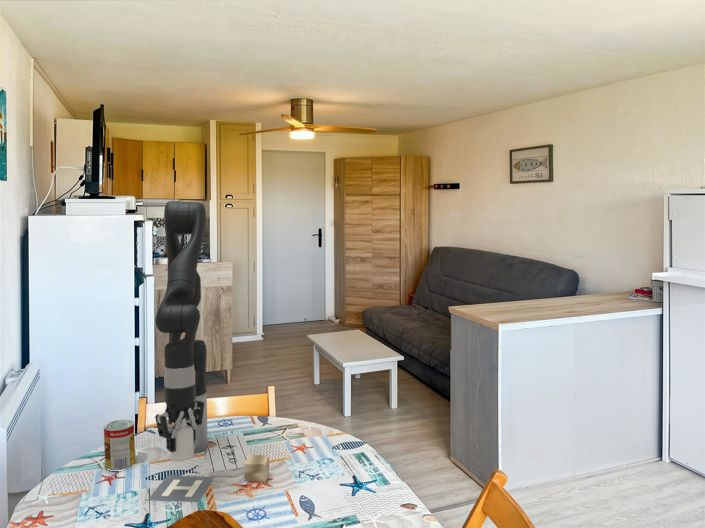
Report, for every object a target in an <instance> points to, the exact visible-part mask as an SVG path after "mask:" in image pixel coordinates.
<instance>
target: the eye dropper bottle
mask: <svg viewBox="0 0 705 528" xmlns="http://www.w3.org/2000/svg"><path fill="white" fill-rule="evenodd" d="M171 431H172V429H171ZM170 433H171V432H170ZM175 438H176V451H175V452H170V451H169V452H170V460H171V461H172V462H175V463H176V462H183V461H184V462H185V461H187V460H190V459H192V458H193V457H194V456H195V453H194V441H193V429H192V427H191V426H187V425H186V418H185V419H183V420H182V423H180V426H179V429H177V431H176V435H175Z"/></svg>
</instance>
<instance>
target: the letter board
mask: <svg viewBox="0 0 705 528" xmlns="http://www.w3.org/2000/svg"><path fill="white" fill-rule="evenodd" d="M215 477H216V476H207V475H206V476H205V475H204V476H203V475H198V476H197V475H174V474H173V475H172V474H171V475H169V474H168V475H167V476H166V477H165V478H164V479H163V481H162V482H161V483H160V484H159V485H158V487H157V488H156V489H155V490H154V491H153V493H151V495H150V496H149V497H148V498H147V501H151V502H152V501H153V502H154V501H155V502H156V501H157V502H158V501H159V502H183V503H187V502H188V503H199V502H200V501H201V499H202V497H204V494H205V493H206V492H207V490H208V488H209V487H210V485H211V484H212V482H213V480H214V479H215Z"/></svg>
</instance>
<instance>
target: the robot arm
mask: <svg viewBox="0 0 705 528" xmlns="http://www.w3.org/2000/svg"><path fill="white" fill-rule="evenodd" d="M163 212H164V213H163V216H164V217H163V218H164V219H163V221H164V231H165V241H166V252H167V253H166V255H167V281H166V289H165V293H164V296H163V298H162V300H161V303H160V304H159V307H158V309H157V312H156V315H155V319H154V320H155V325H156V328H157V330H158V331H160V333H162V334H169V335H168V343H166V344H165V345H164V352H163V353H164V373H163V378H164V379H163V381H164V382H163V383H164V384H163V385H164V386H163V387H164V390H163V391H164V402H165V404H166V405H165V406H166V408H165V411H164V412H163V413H161V414H159V413H157V414H156V415H155V416H154V419H155V423H156V428H157V432H158V437H161V438H164V439H166V440H165V441H166V450H167V451H168V452H175V451H176V438H175V435H176V431H177V429H179V426H180V423H182V420H183V419H185V418H186V425H187V426H191V427H192V429H193V441H194V454H198V453H201V452H203V451H206V449H207V448H208V447H209V444H208V443H209V441H208V438H209V437H208V433H209V432H208V431H209V430H208V403H207V402H208V400H207V399H208V397H207V394H208V393H207V391H208V390H207V358H208V357H207V356H208V355H207V351H208V350H207V345H206V342H205V341H204V339H203V340H202V339H196V335H197V332H198V329H199V325H200V321H201V313H200V310H199V309H198V306H199V305H200V302H201V300H202V282H201V281H202V280H201V277H200V274H199V272H198V271H197V268H198V263H199V258H200V254H201V250H202V244H203V240H204V236H205V230H206V226H207V211H206V206H205V205H204V203H202V202H200V201H186V200H185V201H183V200H182V201H181V200H179V201H178V200H169V201H167V202H166V203H165V207H164V210H163ZM179 235H190V237H189V241H188V242H187V243H186V245H185V246H184V247H182V245H181V242H180V239H179V238H180V237H179ZM183 333H184V337H183V338H182V334H183ZM171 430H172V431H171ZM170 432H171V433H170Z"/></svg>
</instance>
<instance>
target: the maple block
mask: <svg viewBox="0 0 705 528" xmlns="http://www.w3.org/2000/svg"><path fill="white" fill-rule="evenodd" d="M243 467H244V468H243V469H244V470H243V473H244V476H243V477H244V479H243V481H244V482H259V483H262V485H265V484H266V483H267V480H268V478H269V476H270V454H269V455H268V454H248V456H247V458H246V460H245V462H244V464H243Z"/></svg>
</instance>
